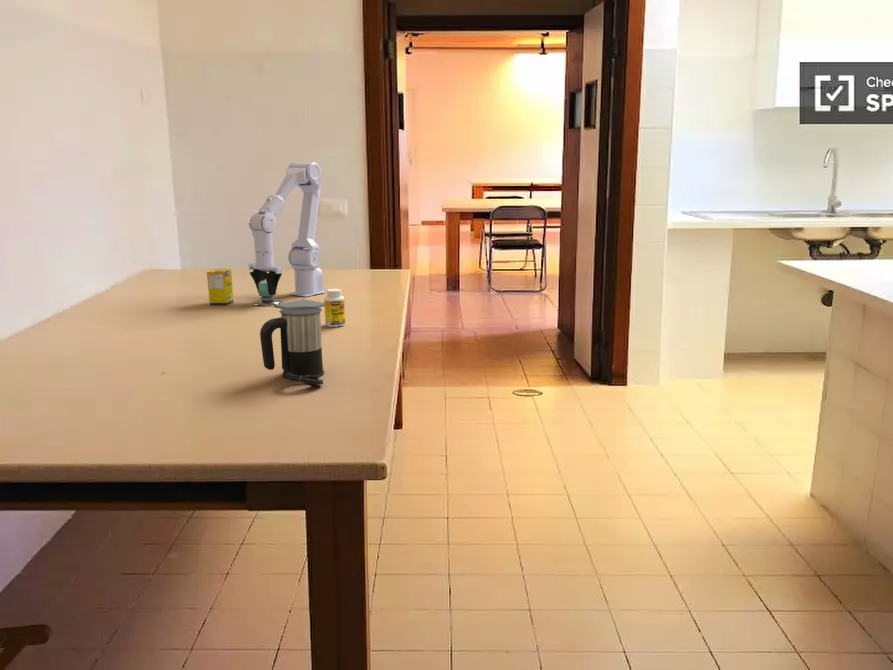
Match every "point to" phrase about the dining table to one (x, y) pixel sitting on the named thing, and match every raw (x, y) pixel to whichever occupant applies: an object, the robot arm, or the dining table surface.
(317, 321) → the milk frother
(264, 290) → the cap
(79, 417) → the dining table surface
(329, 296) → the supplement bottle
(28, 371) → the dining table surface
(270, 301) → the metal flanged disc
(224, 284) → the supplement box
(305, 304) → the mat
